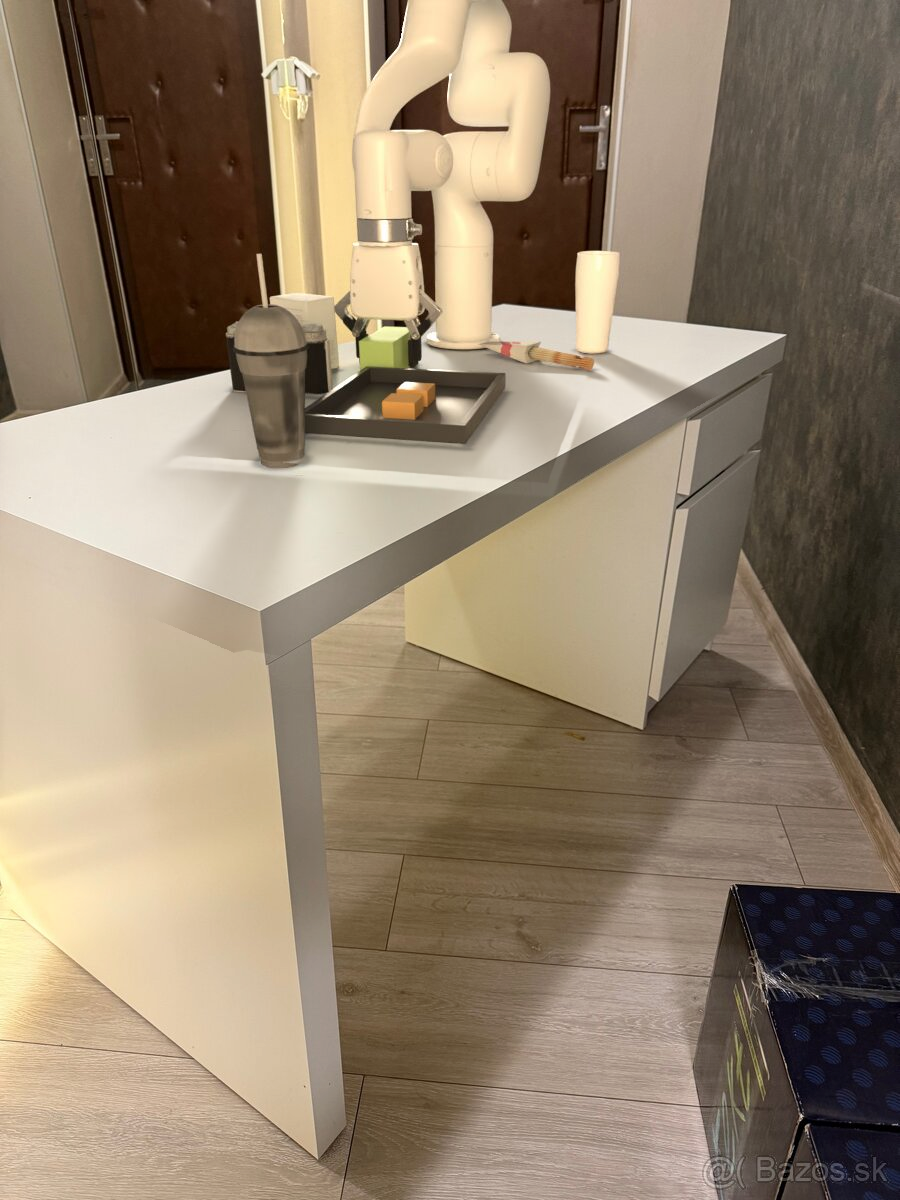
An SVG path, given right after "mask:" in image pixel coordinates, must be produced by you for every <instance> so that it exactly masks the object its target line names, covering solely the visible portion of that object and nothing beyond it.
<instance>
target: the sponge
mask: <svg viewBox="0 0 900 1200" xmlns="http://www.w3.org/2000/svg"><path fill="white" fill-rule="evenodd" d="M368 335H369V336H367V337H365V338H364V339H362V340H360V341H359V354H360V363H359V369H360V370H362V369H363V368H365V367H366V366H372V367H392V368H410V367H409V366H408V340H409V339H410V335H411V334H410V332H409V330H408V328H407V326H383V327H381V328H379V329H377V330H376V331H374V332H372V333H371V334H368ZM360 370H359V371H360Z"/></svg>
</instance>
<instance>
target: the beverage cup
mask: <svg viewBox="0 0 900 1200" xmlns="http://www.w3.org/2000/svg"><path fill="white" fill-rule="evenodd" d="M256 262H257V270H258V271H257V272H258V278H259V287H260V295H261V302H262V304H257V305H255V306H253V307H251V308H250V309H248V310H247V311H246V312H244V313H243V314H242V316H241V317H240V319H239V320H238V321H239V322H238V324H237V327H236V331H235V337H234V343H235V345H234V349H233V350H234V352H235V353H236V357H237V362H238V365H239V368H240V371H241V372H242V375H243V380H244V385H245V390H246V392H245V394H246V399H247V404H248V410H249V415H250V420H251V425H252V429H253V434H254V440H255V444H256V445H255V446H256V449H257V452H258V455H259V459H260V464H261V465H262V466H264V467H267V468H274V469H283V468H284V469H285V468H292V467H296V466H299V465H300V463H294V462H296V461H298V460H301V459H303V457H304V456H305V446H306V433H305V408H306V393H305V369H306V364H307V349H308V344H307V343H306V337H305V334H304V331H303V329H302V326H301V325H300V323H299V321H298V320H297V318H296V317H295V316H294V315H293V314H292V313H291V312H290V311H288V310H287V309H285V308H283V307H281V306H279V305H274V304H270V303H269V301H268V294H267V284H266V276H265V268H264V260H263V254H262V253H256ZM291 462H293V463H291Z"/></svg>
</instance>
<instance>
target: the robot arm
mask: <svg viewBox="0 0 900 1200" xmlns="http://www.w3.org/2000/svg"><path fill="white" fill-rule="evenodd" d="M406 4H407V5H406V9H405V15H404V21H403V25H402V30H401V31H402V33H401V38H400V41H399V44H398V47H397V48H396V49H395V50H394V52H393V53H391V55H390V56H389V57H388V58H387V60H386V61H385V62H384V63H383V65H382V66H381V67H380V69H379V70H378V71H377V72H376V74H375V75H374V77H373V79H372V80H371V81H370V83H369V85H368V86H367V88H366V90H365V91H364V93H363V95H362V97H361V100H360V103H359V106H358V109H357V115H356V121H355V127H354V133H353V138H352V148H351V162H352V169H353V175H354V192H355V193H354V194H355V215H356V233H357V242H355V243H353V245H352V251H351V260H350V261H351V262H350V272H349V273H350V276H349V291H348V292H347V293H346V294H345V295H344V296H343V297H342V298H341V299H340V300H339V301H338V302H337V303H336V304H334V308H335V315H337V317H338V318H339V319H340V320H341V321H342V323H343V325H344V326H345V327H346V328H347V329H348V330H349V331H350V332H351V335H352V336H353V337H354V338H355V339H354V340H355V356H356V358H357V359H358V362H359V363H358V364H360V354H359V341H360V340H362V339H364V338H365V337H367V336H369V335H370V334H369V333H367V328H368V326H369V324H370V321H371V320H383V321H403V322H404V324H405V327H407V328H408V330H409V332H410V334H411V335H410V339H409V340H408V366H409V367H408V368H412V369H415V367H417V366H418V365H419V363H420V361H422V355H423V354H422V351H423V349H422V337H423V336H424V335H425V334H426V333H427V332H428V330H429V329H431V328H432V327H433V325H434V323H435V332H432V333H431V332H430V333H429V334H427V336H426V343H427V344H428V345H429V346H431V347H435V348H438V349H439V348H440V349H447V350H480V349H487V348H486V347H483V346H481V345H479V344H481V343H485V342H501V336H500V335H499V334H498V333H497V332H496V333H495V332H493V331H492V322H493V320H492V319H493V317H492V313H493V274H494V273H493V272H494V271H493V270H494V269H493V268H494V267H493V266H494V263H493V262H494V229H493V225H492V223H491V220H490V218H489V216H488V214H487V212H486V210H485V209H484V207H483V205H482V203H481V202H520V201H524V200H526V199H527V198H529V197H530V196H531V195H532V193H533V192H534V190H535V188H536V185H537V181H538V177H539V175H540V167H541V163H542V154H543V148H544V143H545V136H546V130H547V124H548V123H547V122H548V117H549V112H550V111H549V110H550V103H551V80H550V73H549V69H548V66H547V63H546V62H545V61H544V59H543V58H542V57H541V56H539V55H538V54H537V53H534V52H527V51H520V52H519V51H516V52H510V45H511V38H512V28H513V26H512V19H511V15H510V13H509V11H508V9H507V7H506V5H505V2H503V0H407V3H406ZM447 77H449V78H448V79H449V80H448V87H447V96H446V97H447V100H446V101H447V102H446V103H447V110H448V111H447V112H448V115H449V116H450V118H451V119H452V120H453V121H454V122H455V123H456V124H458V125H461V126H465V127H478V128H487V127H488V128H489V127H492V128H493V127H508V130H506V131H505V130H504V131H485V130H484V131H481V130H480V131H457V132H456V131H455V132H450V133H446V134H444V135H442V134H440V133H439V132H437V131H434V130H430V129H391V127H392V124H393V122H394V120H395V118H396V116H397V115H398V113H399V112H400V111H401V109H402V108H403V107H404V106H405V105H406V104H407V103H409V102H410V101H411V100H412V99H414V98H415V97H416V96H417V95H419V94H421V93H422V92H424V91H426V90H427V89H429V88H431V87H433V86H434V85H436V84H438V83H439V82H440V81H441V82H442V81H443V80H444V79H446V78H447ZM429 191H431V197H432V205H433V218H434V284H435V285H434V287H435V289H434V290H435V293H434V295H435V297H434V298H435V299H434V300H435V301H434V300H433V299H432V297H430V296H429V295H428V294H427V293H426V292H425V284H424V273H423V264H422V257H421V251H420V246H419V243H417V242H413V240H414V237H417V236H421V235H422V233H423V225H422V224H418V223H415V222H414V219H413V218H412V192H429ZM349 306H350V311H351V313H350V311H349V310H348V307H349ZM425 310H427V311H428V314H427V316H426V318H425V319H424V320H422V322H421V321H420V319H419V317H418V316H420V315H423V314H424V312H425ZM351 314H352V315H351ZM355 317H356V318H355Z"/></svg>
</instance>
